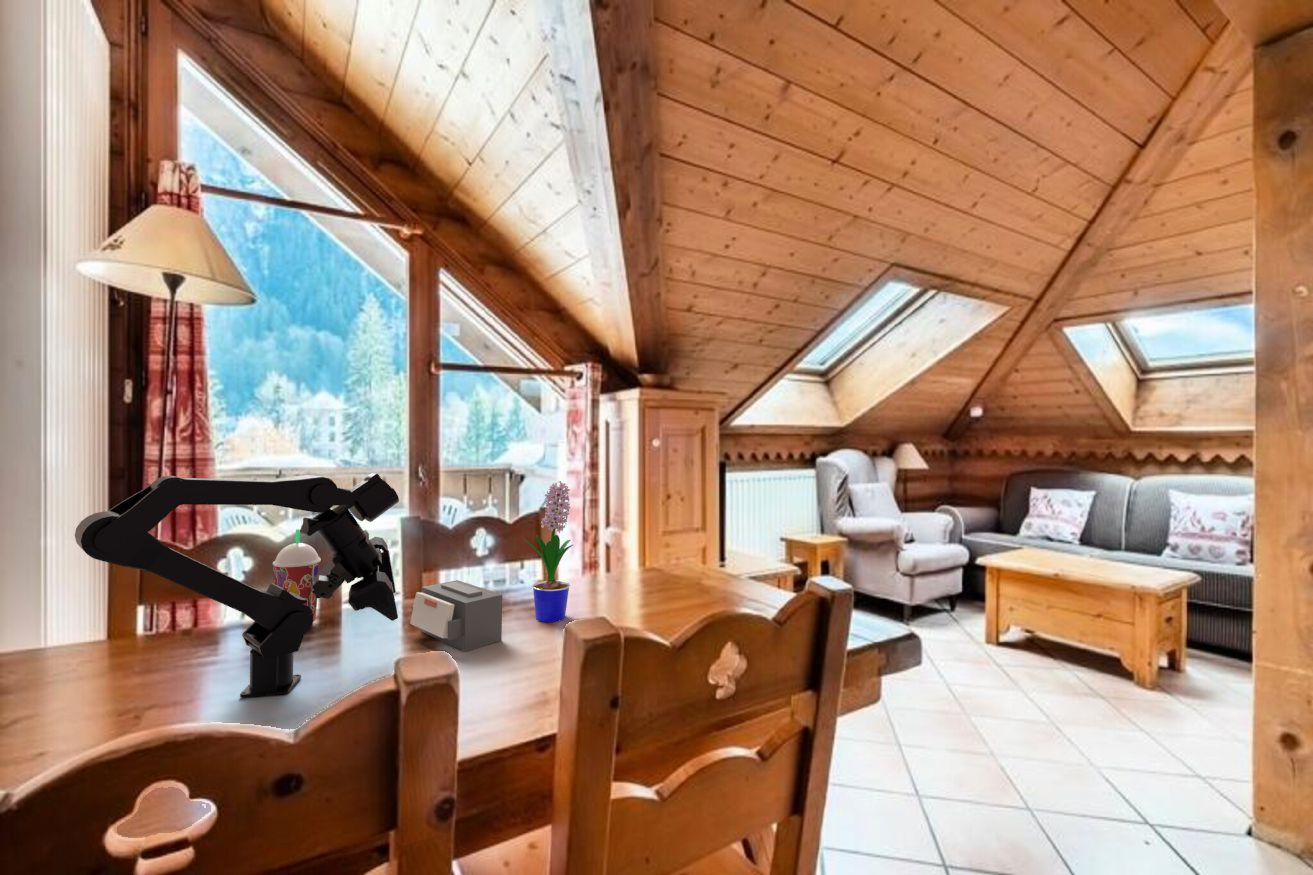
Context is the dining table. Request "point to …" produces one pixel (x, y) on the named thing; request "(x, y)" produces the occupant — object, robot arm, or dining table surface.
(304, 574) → the smoothie
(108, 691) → the dining table surface
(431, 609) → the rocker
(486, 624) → the box
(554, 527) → the hyacinth
